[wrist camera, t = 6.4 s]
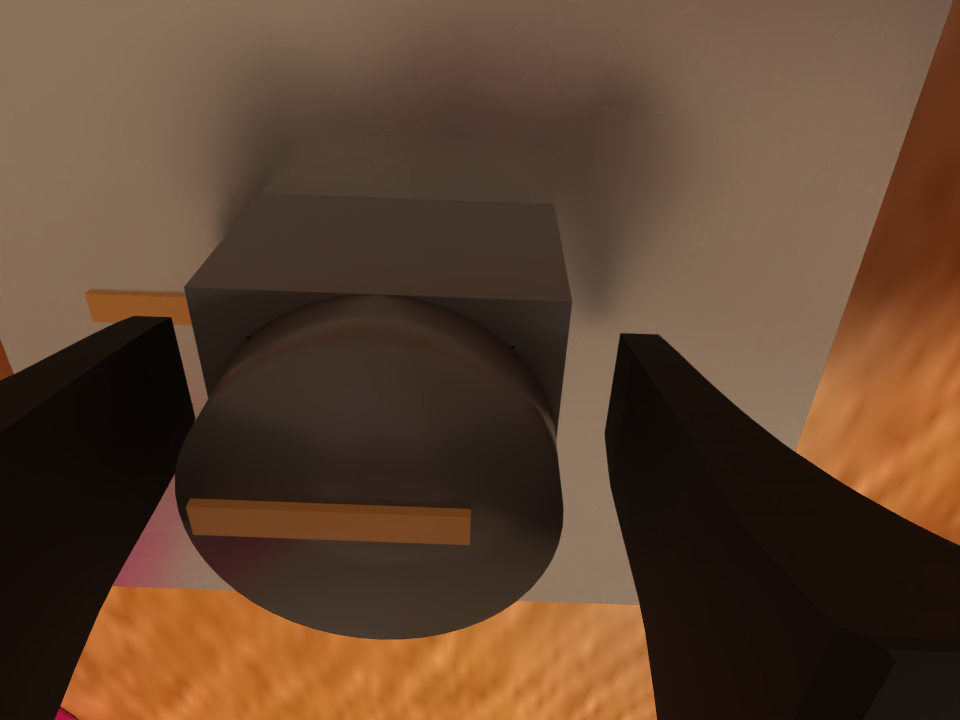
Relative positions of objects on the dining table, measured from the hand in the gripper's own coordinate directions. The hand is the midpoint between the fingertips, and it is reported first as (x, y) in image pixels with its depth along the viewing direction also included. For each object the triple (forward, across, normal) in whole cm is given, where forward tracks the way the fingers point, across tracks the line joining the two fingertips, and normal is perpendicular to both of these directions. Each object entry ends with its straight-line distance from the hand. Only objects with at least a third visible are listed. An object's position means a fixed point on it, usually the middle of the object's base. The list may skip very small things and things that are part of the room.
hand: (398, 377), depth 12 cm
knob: (+2, 0, 0) cm, 2 cm away
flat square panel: (+3, 0, 0) cm, 3 cm away
